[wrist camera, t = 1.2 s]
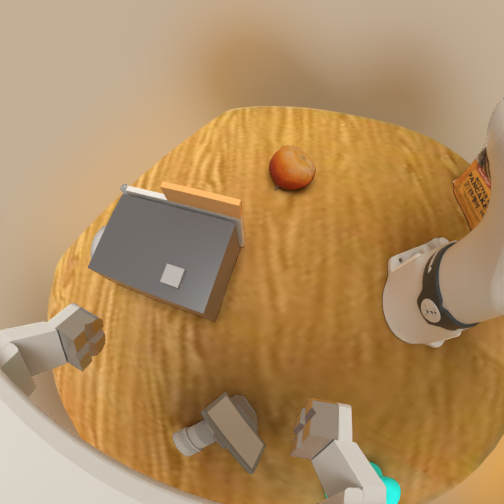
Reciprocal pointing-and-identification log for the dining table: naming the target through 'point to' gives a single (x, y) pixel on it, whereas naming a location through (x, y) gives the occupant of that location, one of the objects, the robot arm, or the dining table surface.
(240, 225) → the side door
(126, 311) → the dining table surface
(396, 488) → the turquoise spool
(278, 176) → the fruit
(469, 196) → the pancake mix bag
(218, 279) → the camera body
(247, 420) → the camera
